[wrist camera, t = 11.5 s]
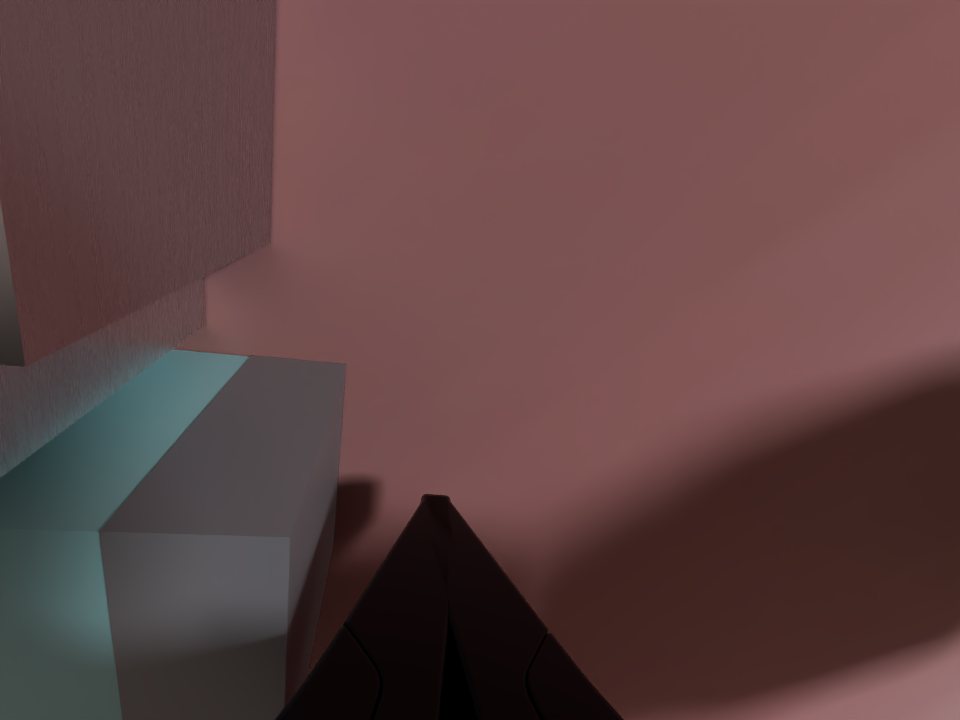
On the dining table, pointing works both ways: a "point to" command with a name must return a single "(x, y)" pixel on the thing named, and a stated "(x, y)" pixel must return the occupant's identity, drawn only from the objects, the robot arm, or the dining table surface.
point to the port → (120, 189)
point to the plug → (173, 545)
